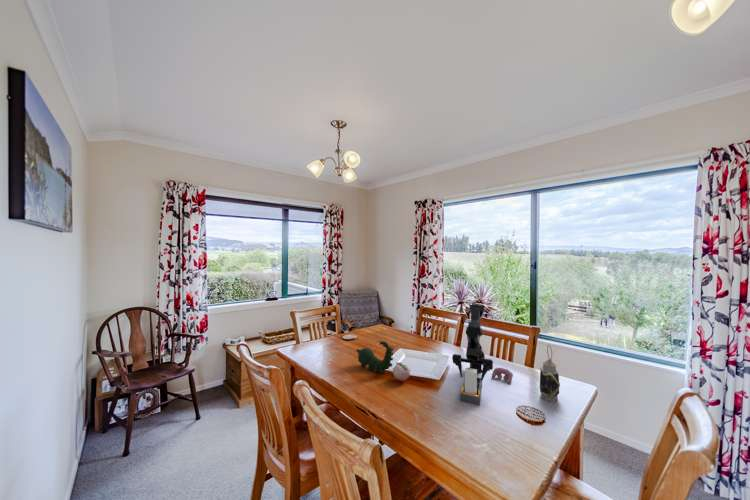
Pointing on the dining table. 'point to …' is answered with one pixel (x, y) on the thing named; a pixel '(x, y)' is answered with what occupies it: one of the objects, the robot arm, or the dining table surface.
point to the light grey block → (471, 381)
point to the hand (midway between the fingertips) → (471, 379)
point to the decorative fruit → (401, 371)
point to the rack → (471, 397)
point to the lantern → (549, 380)
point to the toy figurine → (375, 358)
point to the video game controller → (500, 371)
